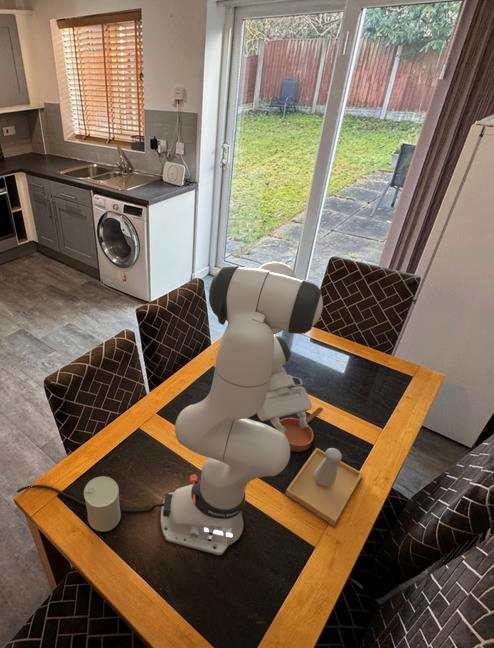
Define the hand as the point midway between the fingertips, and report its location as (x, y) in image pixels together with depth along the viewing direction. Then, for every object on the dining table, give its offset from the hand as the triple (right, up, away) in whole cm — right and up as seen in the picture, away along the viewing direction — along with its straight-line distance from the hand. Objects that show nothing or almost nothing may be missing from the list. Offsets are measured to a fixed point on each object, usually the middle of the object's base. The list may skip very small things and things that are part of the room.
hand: (294, 430), depth 116 cm
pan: (+6, -6, +17) cm, 19 cm away
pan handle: (+14, -1, +22) cm, 26 cm away
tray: (+10, -17, +2) cm, 20 cm away
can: (-54, -23, -4) cm, 59 cm away
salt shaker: (+10, -16, +3) cm, 19 cm away
